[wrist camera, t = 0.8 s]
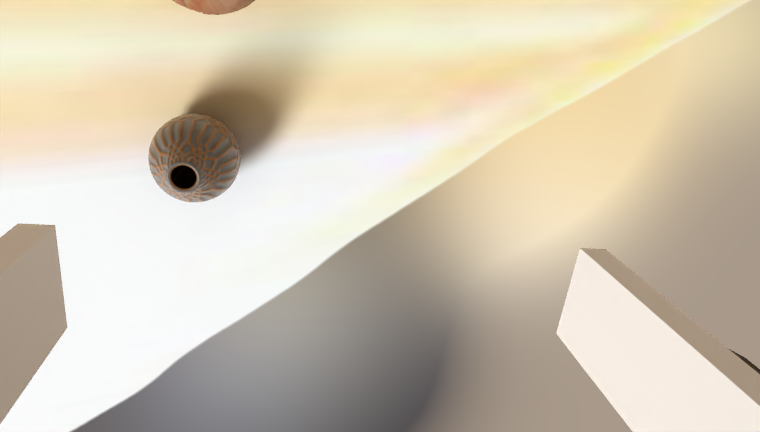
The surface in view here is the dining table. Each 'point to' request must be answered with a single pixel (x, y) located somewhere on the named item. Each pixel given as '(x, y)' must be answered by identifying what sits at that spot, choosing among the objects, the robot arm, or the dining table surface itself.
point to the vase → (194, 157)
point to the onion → (214, 5)
